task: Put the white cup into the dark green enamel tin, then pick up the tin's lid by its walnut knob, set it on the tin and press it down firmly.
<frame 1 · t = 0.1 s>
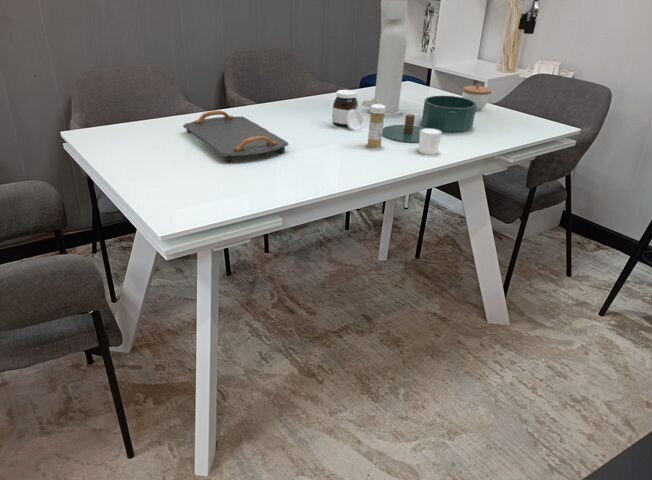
hand: (525, 31, 191), 31 cm above the table, tool pointing down, fingers open, 9 cm apart
sprinkles bottle: (373, 148, 177), on the table
white lidded jar: (473, 108, 221), on the table
tin: (446, 127, 198), on the table
serving tray: (234, 142, 178), on the table
spread jar: (347, 127, 196), on the table
tin lid: (407, 134, 188), point 1 cm above the table
white cup: (427, 153, 174), on the table
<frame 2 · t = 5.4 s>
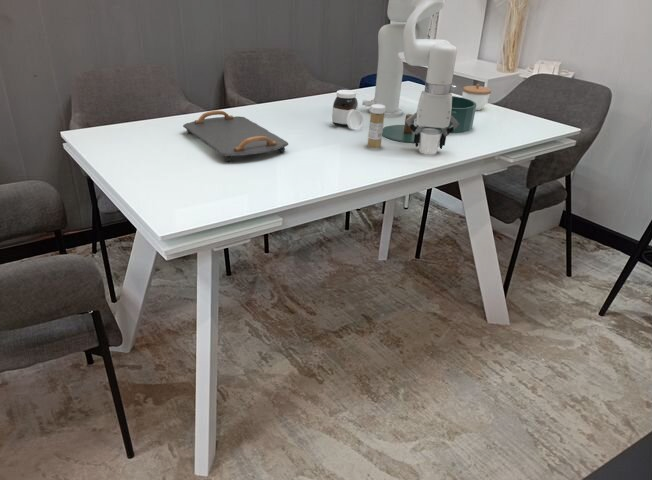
hand: (428, 146, 173), 2 cm above the table, tool pointing down, fingers closed on white cup, 6 cm apart
white cup: (427, 153, 174), on the table, touching gripper
everything else where it was.
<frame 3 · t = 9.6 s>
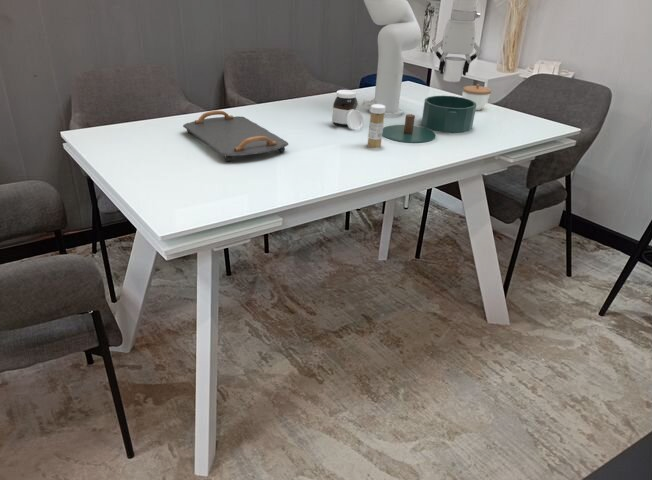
hand: (452, 73, 185), 19 cm above the table, tool pointing down, fingers closed on white cup, 6 cm apart
white cup: (451, 80, 186), point 17 cm above the table, touching gripper
everything else where it was.
when the fingers open (3 cm above the table, at t = 13.8 s): white cup stays where it is, resting on tin.
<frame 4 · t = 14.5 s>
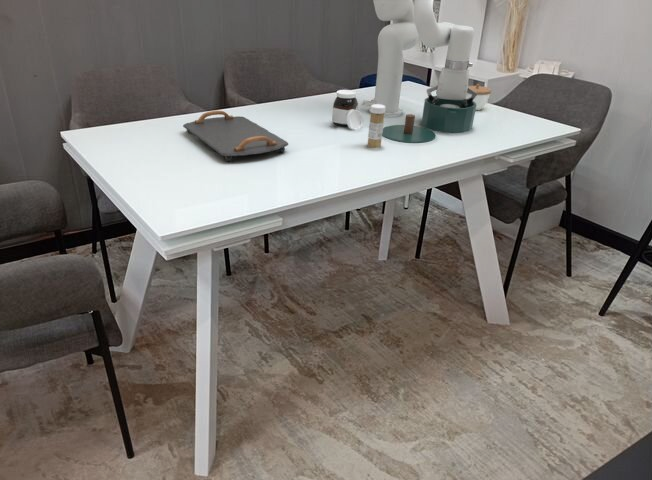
hand: (447, 115, 196), 4 cm above the table, tool pointing down, fingers open, 9 cm apart
white cup: (446, 126, 198), resting on tin
everything else where it was.
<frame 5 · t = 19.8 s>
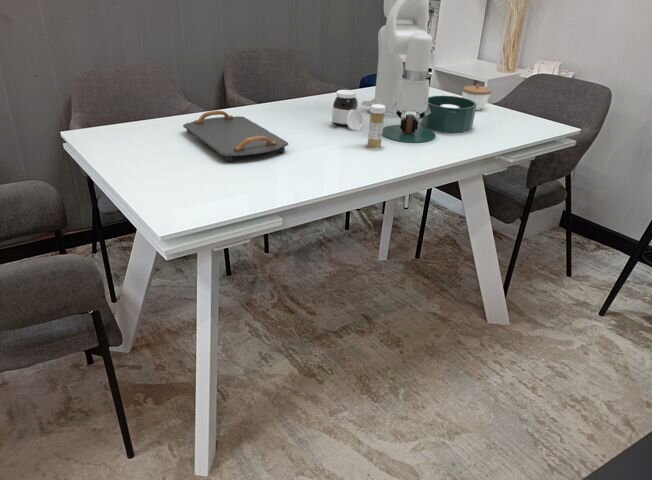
hand: (408, 130, 187), 2 cm above the table, tool pointing down, fingers closed on tin lid, 3 cm apart
tin lid: (407, 134, 188), point 1 cm above the table, touching gripper
everything else where it was.
when the fingers open (10 cm above the table, at t = 27.3 s): tin lid stays where it is, resting on tin.
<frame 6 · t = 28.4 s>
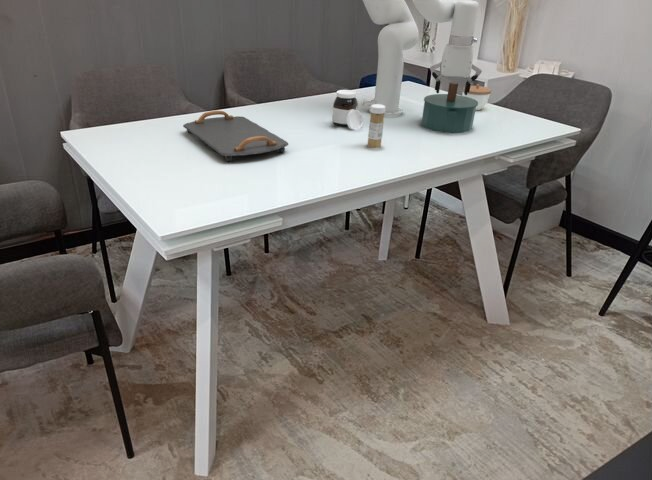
hand: (451, 93, 192), 12 cm above the table, tool pointing down, fingers open, 9 cm apart
tin lid: (450, 101, 193), point 9 cm above the table, touching tin
everything else where it was.
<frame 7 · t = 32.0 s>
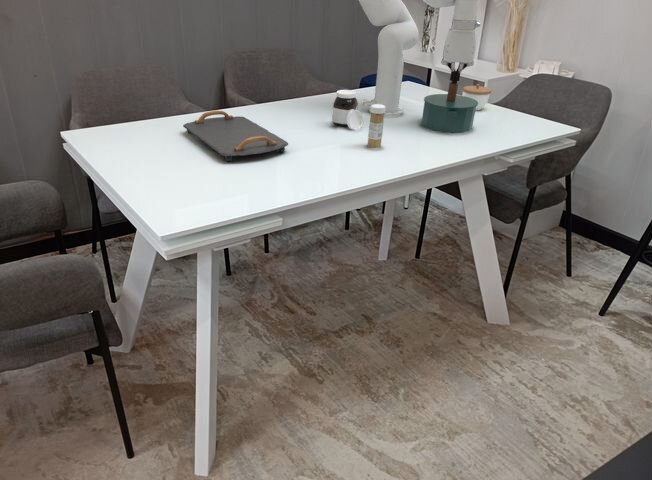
hand: (454, 82, 190), 16 cm above the table, tool pointing down, fingers closed
tin lid: (450, 101, 193), point 9 cm above the table, touching gripper, tin
everything else where it was.
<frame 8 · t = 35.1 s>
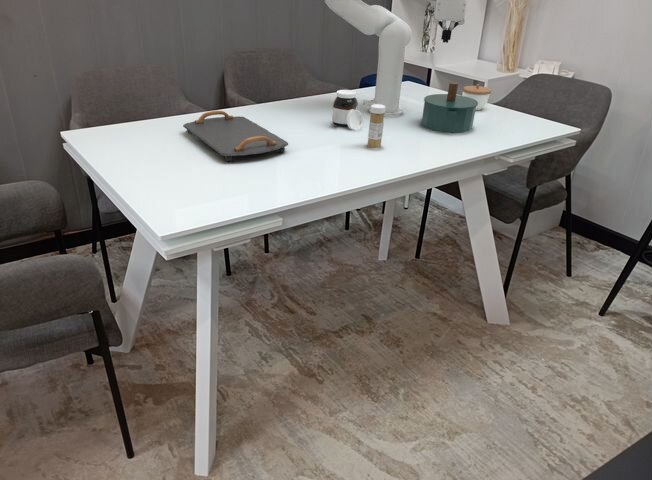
hand: (445, 42, 193), 27 cm above the table, tool pointing down, fingers closed
tin lid: (450, 101, 193), point 9 cm above the table, touching tin
everything else where it was.
at the end: white cup inside the target area in the tin (0.1 cm from its centre), point 0.3 cm above the tin's base; tin lid 0.1 cm off-centre on the tin, point 9.0 cm above the tin's base; tin lid tilted 0° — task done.
